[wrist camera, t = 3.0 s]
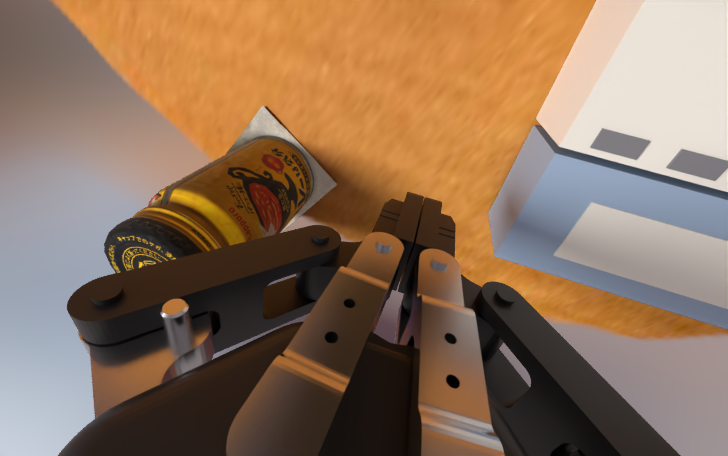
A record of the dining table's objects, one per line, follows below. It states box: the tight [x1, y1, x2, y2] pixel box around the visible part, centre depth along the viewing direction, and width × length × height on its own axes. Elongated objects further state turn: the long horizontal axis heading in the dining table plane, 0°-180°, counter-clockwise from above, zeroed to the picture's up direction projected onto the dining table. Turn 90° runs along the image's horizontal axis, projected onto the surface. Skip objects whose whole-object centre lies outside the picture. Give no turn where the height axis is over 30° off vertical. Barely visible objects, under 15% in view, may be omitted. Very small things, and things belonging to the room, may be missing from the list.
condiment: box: [104, 106, 337, 273], centre depth 19 cm, size 7×8×12 cm
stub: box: [488, 125, 728, 330], centre depth 16 cm, size 6×16×5 cm, turn 79°
